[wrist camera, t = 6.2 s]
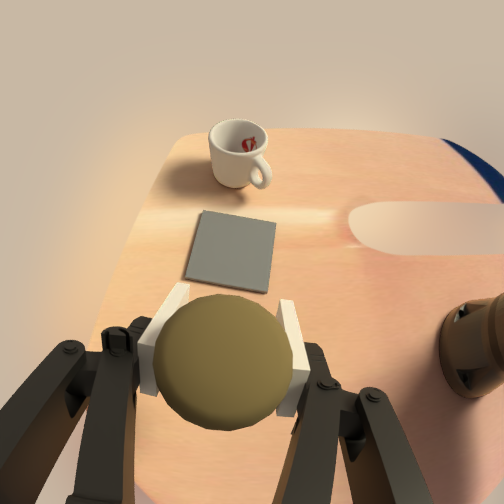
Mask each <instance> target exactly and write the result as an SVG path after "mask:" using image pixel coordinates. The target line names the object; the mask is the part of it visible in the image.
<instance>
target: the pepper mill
mask: <svg viewBox="0 0 504 504" xmlns="http://www.w3.org/2000/svg"><path fill="white" fill-rule="evenodd" d="M152 365H153V370H154V375H155V380H156V385H157V387H158V389H159V391H160V392H161V394H162V396H163V397H164V399H165V401H166V403H167V404H168V405H169V406H170V407H171V408H172V409H173V410H174V411H175V412H176V413H178V414H179V415H180V416H181V417H182V418H183V419H184V420H186V421H189V422H191V423H193V424H195V425H198V426H200V427H203V428H205V429H211V430H222V431H232V430H237V429H241V428H245V427H249V426H253V425H254V424H256V423H257V422H259V421H261V420H262V419H264V418H266V417H267V416H269V415H270V414H272V412H273V411H274V410H275V409H276V408H277V406H278V405H279V404H280V403H281V401H282V400H283V399H284V398H285V396H286V393H287V390H288V388H289V385H290V382H291V380H292V375H293V352H292V349H291V346H290V342H289V339H288V336H287V333H286V332H285V330H284V329H283V328H282V326H281V325H280V323H279V322H278V320H277V319H276V317H275V316H273V315H272V314H271V313H270V312H268V311H267V310H266V309H265V308H263V307H262V306H261V305H259V304H258V303H255V302H253V301H250V300H248V299H245V298H243V297H240V296H234V295H223V294H216V295H211V296H206V297H200V298H197V299H195V300H193V301H191V302H189V303H187V304H185V305H184V306H182V307H180V308H179V309H178V310H177V311H176V312H175V313H174V314H173V315H172V316H171V317H170V318H169V319H168V320H167V321H166V322H165V323H164V325H163V327H162V329H161V331H160V333H159V335H158V337H157V339H156V342H155V348H154V356H153V363H152Z"/></svg>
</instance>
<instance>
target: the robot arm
mask: <svg viewBox="0 0 504 504" xmlns="http://www.w3.org/2000/svg"><path fill="white" fill-rule="evenodd" d="M189 289H190V284H185V283H179V282H177V283H176V285H175V286H174V288H173V289H172V291H171V292H170V294H169V295H168V297H167V298H166V299H165V301H164V303H163V304H162V306H161V307H160V309H159V310H158V312H157V313H156V315H155V316H154V318H153V319H152V318H148V317H143V316H140V317H138V318H136V319H135V320H133V322H132V323H131V324H130V326H129V327H128V328H127V329H126V328H124V327H109V328H106V329H105V330H103V331H102V333H101V338H102V348H103V351H102V352H91V351H85V346H84V345H83V344H82V343H81V342H79V341H76V340H66V341H63V342H61V343H59V344H58V345H57V346H56V347H55V348H54V349H53V351H51V352H50V353H49V355H48V356H47V357H46V358H45V359H44V360H43V361H42V362H41V363H40V364H39V366H38V367H37V368H36V369H35V370H34V371H33V372H32V373H31V375H30V376H29V377H28V378H27V379H26V380H25V381H24V383H23V384H22V385H21V386H20V387H19V388H18V389H17V391H16V392H15V393H14V394H13V395H12V397H11V398H10V399H9V400H8V402H7V403H6V404H5V405H4V406H3V407H2V409H1V410H0V504H35V502H36V500H37V498H38V496H39V494H40V492H41V490H42V488H43V486H44V484H45V482H46V480H47V478H48V476H49V474H50V472H51V471H52V469H53V467H54V465H55V463H56V461H57V459H58V457H59V455H60V454H61V452H62V450H63V448H64V446H65V444H66V443H67V441H68V439H69V437H70V436H71V434H72V432H73V430H74V428H75V427H76V425H77V423H78V421H79V420H80V418H81V416H82V414H83V413H84V411H85V409H86V408H87V406H88V410H87V415H86V419H85V424H84V429H83V434H82V440H81V445H80V451H79V457H78V463H77V470H76V478H75V485H74V492H73V494H72V495H69V496H68V497H67V499H66V503H65V504H135V496H134V444H135V419H136V402H137V395H136V390H137V388H138V386H139V384H140V393H144V394H148V395H152V396H156V397H157V394H158V392H159V389H158V387H157V385H156V380H155V375H154V370H153V365H152V363H153V356H154V348H155V342H156V339H157V337H158V335H159V333H160V331H161V329H162V327H163V325H164V323H165V322H166V321H167V320H168V319H169V318H170V317H171V316H172V315H173V314H174V313H175V312H176V311H177V310H178V309H179V308H180V307H182V306H184V305H185V304H187V303H188V300H189ZM276 319H277V320H278V322H279V323H280V325H281V326H282V328H283V329H284V330H285V332H286V333H287V336H288V339H289V342H290V346H291V349H292V352H293V375H292V380H291V382H290V385H289V388H288V390H287V393H286V396H285V398H284V399H283V400H282V401H281V403H280V404H279V405H278V406H277V408H276V414H277V416H283V417H294V415H295V413H296V410H297V413H298V417H297V420H296V422H295V425H294V427H293V430H292V432H291V434H292V437H291V441H290V445H289V448H288V452H287V456H286V459H285V463H284V466H283V470H282V473H281V476H280V480H279V483H278V486H277V490H276V493H275V496H274V499H273V502H272V504H330V502H331V495H332V488H333V480H334V473H335V464H336V455H337V445H338V436H339V441H340V445H341V450H342V454H343V458H344V463H345V467H346V472H347V477H348V481H349V486H350V491H351V495H352V500H353V504H434V503H433V501H432V498H431V496H430V493H429V490H428V488H427V485H426V483H425V480H424V478H423V476H422V473H421V471H420V468H419V466H418V464H417V461H416V459H415V456H414V454H413V452H412V449H411V447H410V445H409V443H408V440H407V438H406V436H405V434H404V431H403V429H402V427H401V425H400V423H399V420H398V418H397V416H396V414H395V412H394V409H393V407H392V405H391V403H390V401H389V399H388V397H387V395H386V394H385V393H384V392H383V391H381V390H379V389H377V388H373V387H366V388H363V389H361V391H360V393H359V394H355V393H351V392H348V391H345V390H342V388H341V384H340V383H339V382H338V381H337V380H335V379H334V378H332V377H331V374H330V371H329V368H328V365H327V362H326V359H325V357H324V353H323V350H322V349H321V348H320V347H319V346H318V344H316V343H307V342H303V338H302V334H301V330H300V326H299V322H298V318H297V315H296V311H295V307H294V303H293V301H291V300H284V299H280V301H279V306H278V310H277V315H276ZM439 351H440V361H441V366H442V369H443V372H444V375H445V377H446V380H447V381H448V383H449V385H450V386H451V388H452V389H453V390H454V391H455V392H456V393H458V394H459V395H461V396H463V397H466V398H475V397H480V396H484V395H487V394H489V393H490V392H492V391H493V390H495V389H496V388H498V387H499V386H500V385H502V384H503V383H504V293H502V294H501V295H499V296H497V297H495V298H487V299H478V300H471V301H467V302H465V303H463V304H461V305H460V306H458V307H456V308H455V309H453V310H452V311H451V312H450V313H449V315H448V316H447V318H446V319H445V322H444V324H443V327H442V330H441V335H440V344H439ZM88 404H89V405H88Z"/></svg>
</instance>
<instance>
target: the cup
mask: <svg viewBox="0 0 504 504" xmlns="http://www.w3.org/2000/svg"><path fill="white" fill-rule="evenodd" d="M208 140H209V147H210V155H211V163H212V169H213V173H214V176H215V178H216V179H217V180H218V181H219V182H220V183H221V184H223V185H225V186H227V187H231V188H240V187H244V186H247V185H249V184H250V183H252V184H253V185H254V186H255V187H256V188H258V189H264V188H266V187H267V186H269V184H270V183H271V180H272V171H271V168H270V166H269V164H268V163H267V162H266V161H265V160H264V159H263V155H264V153H265V150H266V147H267V143H268V136H267V134H266V132H265V130H264V129H263V128H262V127H261V126H259V125H258V124H256V123H254V122H252V121H248V120H244V119H228V120H225V121H222V122H219V123H217V124H216V125H215V126H213V127H212V129H211V130H210V132H209V136H208ZM258 170H260V171H261V173H262V176H263V181H261V179H260V178H259V176H258Z"/></svg>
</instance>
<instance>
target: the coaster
mask: <svg viewBox="0 0 504 504" xmlns="http://www.w3.org/2000/svg"><path fill="white" fill-rule="evenodd" d="M275 229H276V223H274V222H268V221H263V220H257V219H252V218H246V217H241V216H235V215H229V214H223V213H217V212H211V211H205V210H203V213H202V216H201V220H200V223H199V227H198V230H197V234H196V238H195V241H194V245H193V249H192V252H191V256H190V260H189V263H188V267H187V271H186V275H185V279H189V280H194V281H200V282H205V283H210V284H216V285H221V286H227V287H232V288H238V289H244V290H249V291H255V292H261V293H267V292H268V285H269V278H270V270H271V262H272V254H273V246H274V238H275Z"/></svg>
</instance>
